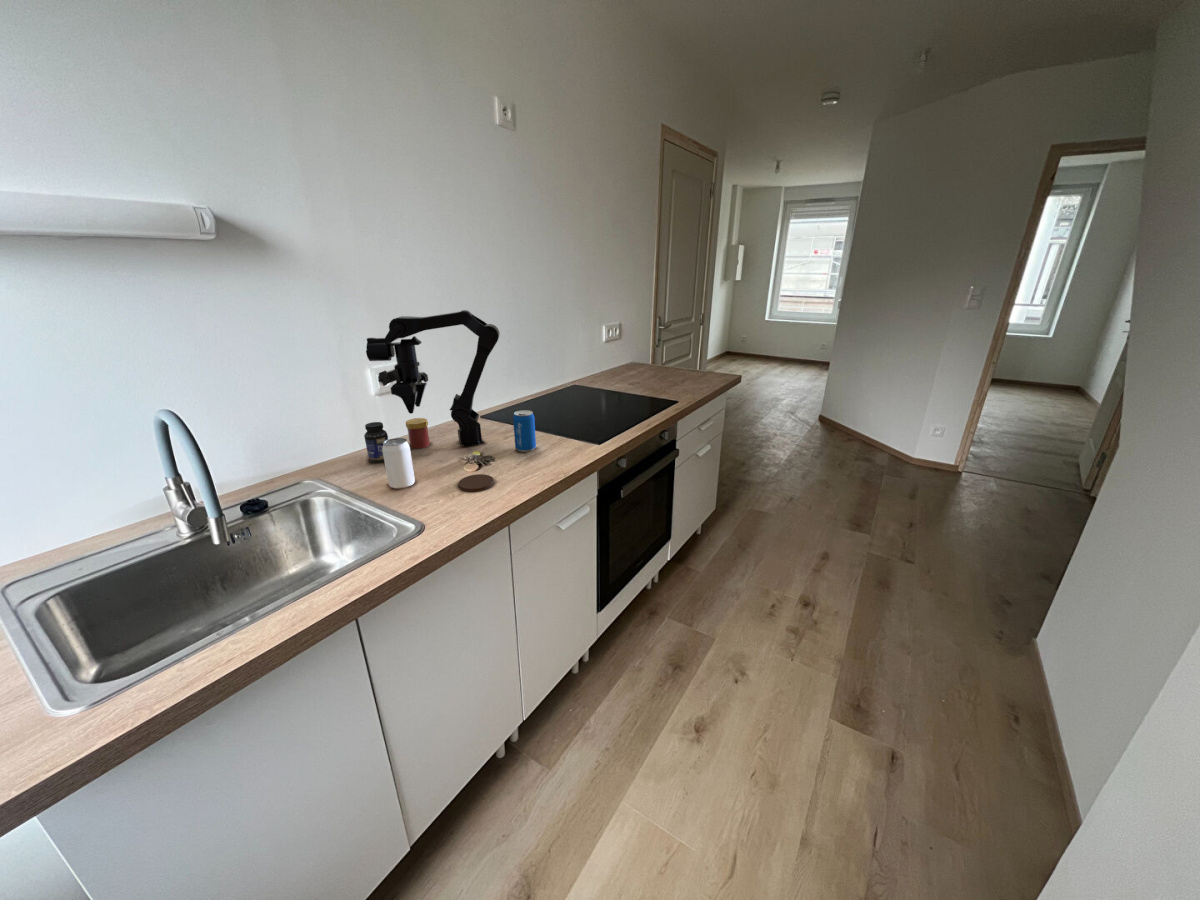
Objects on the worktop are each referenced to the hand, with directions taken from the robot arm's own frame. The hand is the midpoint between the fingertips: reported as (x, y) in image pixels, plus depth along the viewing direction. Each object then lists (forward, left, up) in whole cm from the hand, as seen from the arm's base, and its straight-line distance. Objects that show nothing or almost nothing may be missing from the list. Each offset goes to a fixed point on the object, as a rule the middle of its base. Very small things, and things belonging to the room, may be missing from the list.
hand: (414, 409), depth 142 cm
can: (+10, +28, -12) cm, 32 cm away
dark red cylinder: (0, 0, -12) cm, 12 cm away
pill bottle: (+13, +6, -12) cm, 19 cm away
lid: (0, 0, -4) cm, 4 cm away
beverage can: (-28, +21, -12) cm, 37 cm away
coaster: (-7, +38, -12) cm, 40 cm away
